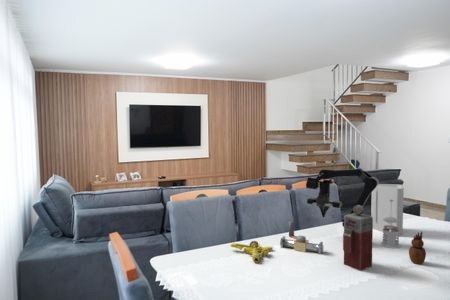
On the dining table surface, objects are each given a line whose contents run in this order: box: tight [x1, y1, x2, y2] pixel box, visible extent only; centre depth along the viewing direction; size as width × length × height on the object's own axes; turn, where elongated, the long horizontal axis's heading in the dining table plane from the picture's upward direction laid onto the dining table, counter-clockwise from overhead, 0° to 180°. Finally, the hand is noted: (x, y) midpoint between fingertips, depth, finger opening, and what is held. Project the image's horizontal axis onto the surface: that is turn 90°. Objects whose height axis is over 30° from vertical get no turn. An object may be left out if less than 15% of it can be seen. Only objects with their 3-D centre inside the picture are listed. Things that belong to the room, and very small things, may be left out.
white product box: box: [370, 183, 404, 237], centre depth 205 cm, size 19×15×28 cm
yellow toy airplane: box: [230, 240, 274, 264], centre depth 167 cm, size 22×6×20 cm
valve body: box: [279, 235, 324, 255], centre depth 174 cm, size 22×6×5 cm, turn 61°
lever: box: [288, 220, 307, 242], centre depth 177 cm, size 11×4×8 cm, turn 36°
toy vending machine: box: [342, 205, 374, 271], centre depth 152 cm, size 9×11×28 cm
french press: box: [380, 199, 401, 249], centre depth 180 cm, size 10×12×25 cm
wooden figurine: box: [408, 230, 427, 265], centre depth 155 cm, size 7×6×15 cm
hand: (323, 217), depth 192 cm, fingers closed
